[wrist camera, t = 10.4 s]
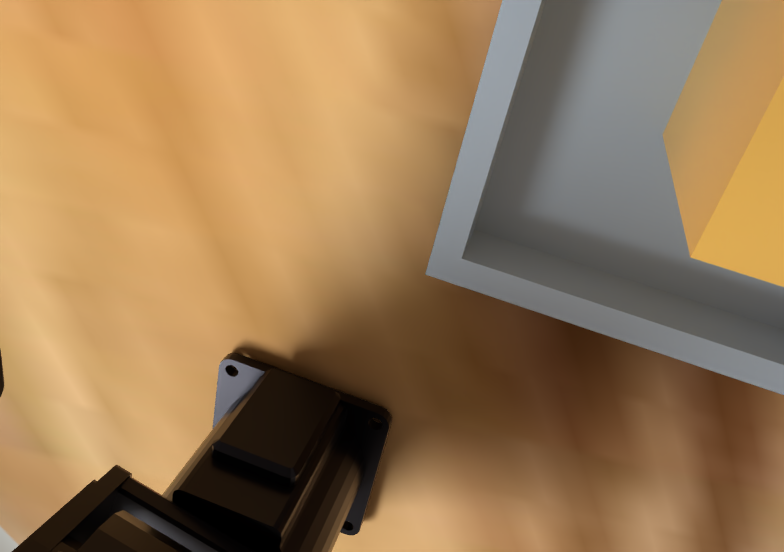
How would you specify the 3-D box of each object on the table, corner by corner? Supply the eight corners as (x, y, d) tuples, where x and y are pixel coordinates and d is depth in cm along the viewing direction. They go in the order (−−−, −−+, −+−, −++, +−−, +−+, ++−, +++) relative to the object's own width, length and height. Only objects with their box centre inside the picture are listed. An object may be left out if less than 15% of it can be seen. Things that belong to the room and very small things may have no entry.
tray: (843, 367, 19) (872, 424, 17) (444, 236, 20) (425, 274, 18) (1272, -231, 12) (1418, -262, 10) (617, -361, 13) (618, -413, 11)
